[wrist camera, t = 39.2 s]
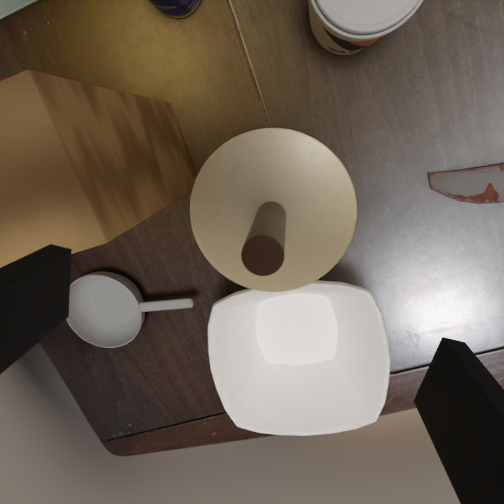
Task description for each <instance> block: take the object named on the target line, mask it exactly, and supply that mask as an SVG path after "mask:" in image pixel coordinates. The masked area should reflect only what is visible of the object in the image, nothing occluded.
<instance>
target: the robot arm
mask: <svg viewBox="0 0 504 504" xmlns="http://www.w3.org/2000/svg"><path fill="white" fill-rule="evenodd" d="M71 252H72V249H69V248H65V247H61V246H57V245H53V244H50V245H47V246H45V247H43V248H41V249H39V250H37V251H35V252H33V253H31V254H28V255H26V256H24V257H22V258H20V259H18V260H16V261H14V262H11V263H9V264H7V265H5V266H3V267H1V268H0V374H1V373H2V372H4V371H5V370H6V369H7V368H8V367H9V366H11V365H12V364H13V363H14V362H15V361H17V360H18V359H19V358H20V357H21V356H23V355H24V354H25V353H26V352H27V351H29V350H30V349H31V348H32V347H33V346H35V345H36V344H37V343H38V342H39V341H41V340H42V339H43V338H44V337H45V336H47V335H48V334H49V333H50V332H51V331H52V330H54V329H55V328H56V327H57V326H58V325H60V324H61V323H62V322H63V321H64V320H66V319H67V318H68V317H69V297H70V274H71ZM414 403H415V405H416V407H417V409H418V411H419V414H420V416H421V418H422V420H423V422H424V424H425V427H426V429H427V431H428V433H429V435H430V437H431V440H432V442H433V444H434V446H435V449H436V451H437V453H438V455H439V457H440V459H441V462H442V464H443V466H444V468H445V470H446V473H447V475H448V477H449V479H450V481H451V484H452V486H453V488H454V490H455V492H456V494H457V497H458V499H459V501H460V503H461V504H504V389H503V388H502V387H501V386H500V385H499V383H498V382H497V381H496V380H495V378H494V377H493V376H492V375H491V374H490V372H489V371H488V370H487V369H486V368H485V366H484V365H483V364H482V363H481V362H480V360H479V359H478V358H477V357H476V355H475V354H474V353H473V352H472V351H471V349H470V348H469V347H468V346H467V345H466V343H464V342H460V341H456V340H452V339H447V338H442V340H441V342H440V344H439V346H438V348H437V351H436V353H435V355H434V357H433V359H432V362H431V364H430V366H429V368H428V370H427V373H426V375H425V377H424V379H423V381H422V384H421V386H420V388H419V390H418V392H417V395H416V397H415V399H414Z"/></svg>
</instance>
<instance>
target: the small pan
mask: <svg viewBox="0 0 504 504" xmlns="http://www.w3.org/2000/svg"><path fill="white" fill-rule="evenodd" d="M193 305H194V303H193V300H192V299H191V298H184V299H173V300H162V301H151V302H144V301H143V298H142V295H141V293H140V291H139V289H138V288H137V286H136V285H135V284H134V283H133V282H132V281H131V280H129V279H128V278H126V277H124V276H122V275H119V274H115V273H112V272H103V271H102V272H93V273H90V274H87V275H85V276H83V277H81V278H79V279H77V280H76V281H74V282H73V283H72V284H71V285H70V297H69V317H68V318H67V322H68V324H69V325H70V327H71V328H72V329H73V330H74V332H75V333H76V334H77V335H78V336H80V337H81V338H82V339H84V340H85V341H87V342H89V343H91V344H93V345H96V346H99V347H105V348H115V347H120V346H123V345H125V344H127V343H129V342H130V341H131V340H132V339H133V338H135V336H136V335H137V333H138V332H139V330H140V328H141V326H142V324H143V321H144V317H145V312H146V311H158V310H170V309H182V308H191V307H193Z"/></svg>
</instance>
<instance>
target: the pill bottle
mask: <svg viewBox="0 0 504 504" xmlns="http://www.w3.org/2000/svg"><path fill="white" fill-rule="evenodd" d="M149 1H150V2H151V3H152V4H153V5H154V6H155V7H156V8H158V9H159V10H160V11H161V12H162V13H164V14H165V15H167V16H169V17H172V18H183V17H186V16H188V15H190V14H191V13H192V12H193V11H194V10H195V9H196V8H197V7H198V5H199V3H200V1H201V0H149Z"/></svg>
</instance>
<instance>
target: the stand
mask: <svg viewBox="0 0 504 504" xmlns="http://www.w3.org/2000/svg"><path fill="white" fill-rule="evenodd" d="M196 177H197V175H196V172H195V170H194V167H193V164H192V161H191V159H190V156H189V153H188V150H187V147H186V145H185V142H184V139H183V136H182V134H181V131H180V128H179V125H178V122H177V120H176V117H175V114H174V111H173V109H172V106H171V103H168V102H164V101H160V100H156V99H151V98H147V97H143V96H139V95H134V94H130V93H126V92H122V91H117V90H113V89H109V88H104V87H100V86H96V85H92V84H87V83H83V82H79V81H75V80H70V79H66V78H62V77H58V76H53V75H49V74H45V73H41V72H36V71H32V70H26V71H23V72H21V73H19V74H16V75H14V76H12V77H9V78H7V79H5V80H2V81H0V268H1V267H3V266H5V265H7V264H9V263H11V262H14V261H16V260H18V259H20V258H22V257H24V256H26V255H28V254H31V253H33V252H35V251H37V250H39V249H41V248H43V247H45V246H47V245H50V244H53V245H57V246H61V247H65V248H69V249H72V252H71V254H73V253H76V252H79V251H82V250H86V249H89V248H92V247H95V246H99V245H102V244H105V243H108V242H109V241H111V240H112V239H114V238H116V237H117V236H119V235H121V234H122V233H124V232H126V231H127V230H129V229H130V228H132V227H134V226H135V225H137V224H139V223H140V222H142V221H144V220H145V219H147V218H148V217H150V216H152V215H153V214H155V213H157V212H158V211H160V210H162V209H163V208H165V207H166V206H168V205H170V204H171V203H173V202H175V201H176V200H178V199H180V198H181V197H183V196H185V195H186V194H188V193H189V192H191V191H192V189H193V185H194V183H195V180H196Z"/></svg>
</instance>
